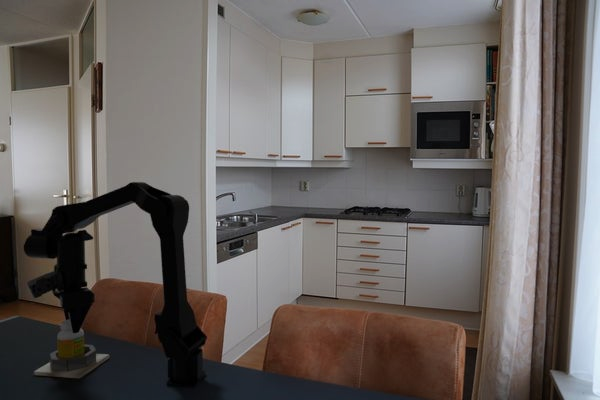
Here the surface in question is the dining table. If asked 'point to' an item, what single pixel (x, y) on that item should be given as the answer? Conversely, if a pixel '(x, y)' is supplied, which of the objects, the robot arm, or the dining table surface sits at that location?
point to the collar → (72, 364)
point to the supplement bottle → (70, 341)
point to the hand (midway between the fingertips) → (72, 327)
